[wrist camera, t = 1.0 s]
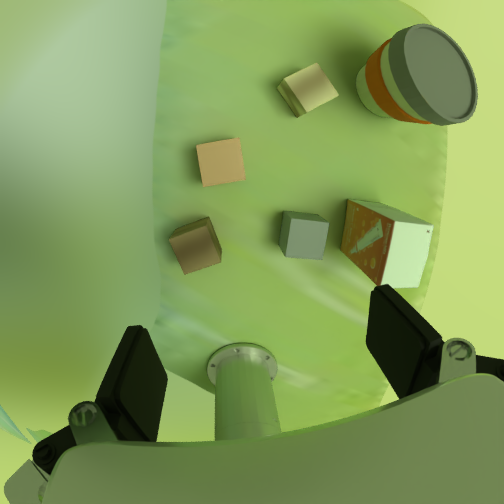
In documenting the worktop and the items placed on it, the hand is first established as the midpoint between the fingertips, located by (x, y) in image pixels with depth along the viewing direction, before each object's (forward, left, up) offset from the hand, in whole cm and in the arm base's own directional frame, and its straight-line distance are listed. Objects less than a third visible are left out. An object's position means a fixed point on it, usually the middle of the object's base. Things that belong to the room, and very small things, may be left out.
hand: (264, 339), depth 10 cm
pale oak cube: (+14, -11, -28) cm, 33 cm away
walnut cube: (-4, +6, -28) cm, 29 cm away
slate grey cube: (-5, -8, -28) cm, 30 cm away
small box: (-6, -18, -28) cm, 34 cm away
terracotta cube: (+6, +1, -28) cm, 29 cm away
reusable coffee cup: (+15, -24, -28) cm, 40 cm away
